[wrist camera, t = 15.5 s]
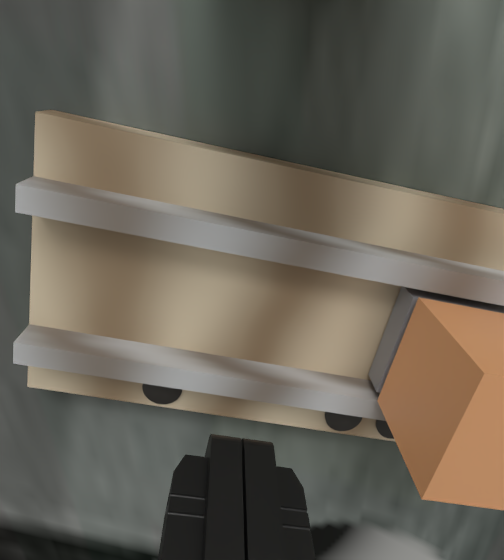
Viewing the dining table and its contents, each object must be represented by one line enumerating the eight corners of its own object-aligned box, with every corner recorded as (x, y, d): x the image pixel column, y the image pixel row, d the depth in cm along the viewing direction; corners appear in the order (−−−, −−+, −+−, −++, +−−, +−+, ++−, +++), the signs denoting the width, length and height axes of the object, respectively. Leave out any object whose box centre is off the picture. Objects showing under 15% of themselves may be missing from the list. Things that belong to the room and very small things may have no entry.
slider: (366, 377, 21) (421, 498, 15) (403, 280, 19) (484, 373, 13) (466, 394, 21) (559, 517, 15) (512, 301, 20) (638, 399, 13)
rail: (40, 367, 22) (12, 408, 19) (51, 109, 17) (16, 114, 15) (621, 457, 26) (668, 502, 23) (756, 264, 21) (835, 291, 18)
